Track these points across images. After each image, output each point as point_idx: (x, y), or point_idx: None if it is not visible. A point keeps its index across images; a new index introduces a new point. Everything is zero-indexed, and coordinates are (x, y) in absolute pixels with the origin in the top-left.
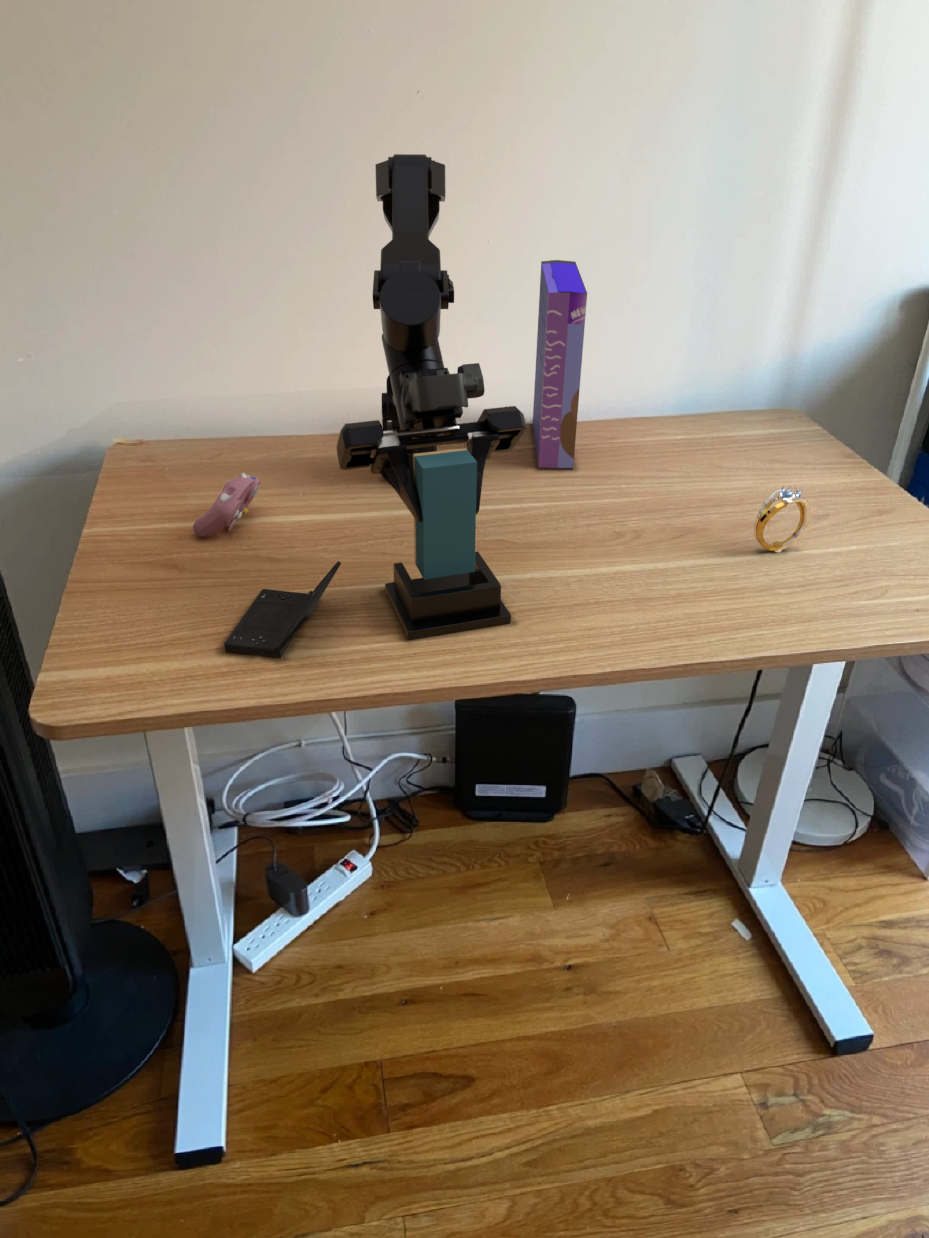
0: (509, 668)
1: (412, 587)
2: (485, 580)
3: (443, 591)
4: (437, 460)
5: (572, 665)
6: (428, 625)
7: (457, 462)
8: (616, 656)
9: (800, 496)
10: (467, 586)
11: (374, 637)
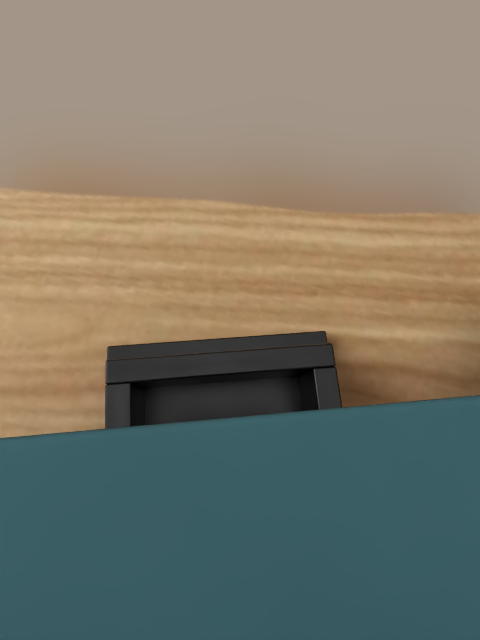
0: (163, 218)
1: (324, 396)
2: (133, 411)
3: (253, 361)
4: (433, 615)
5: (54, 202)
6: (283, 344)
7: (151, 481)
8: None
9: None
10: (190, 372)
11: (381, 359)
